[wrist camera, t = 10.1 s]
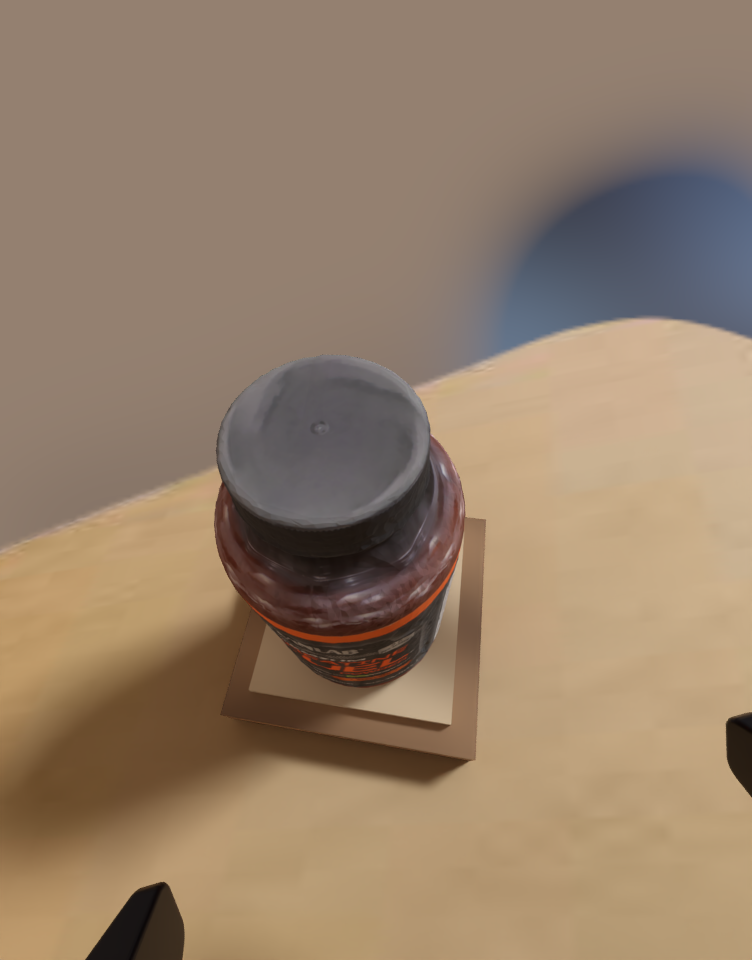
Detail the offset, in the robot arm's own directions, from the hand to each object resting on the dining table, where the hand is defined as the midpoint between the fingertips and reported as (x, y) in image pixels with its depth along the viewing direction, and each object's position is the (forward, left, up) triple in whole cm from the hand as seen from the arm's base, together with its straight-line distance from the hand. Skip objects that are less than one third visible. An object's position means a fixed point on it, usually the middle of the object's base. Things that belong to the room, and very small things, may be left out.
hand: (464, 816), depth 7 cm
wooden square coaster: (+6, +3, -11) cm, 13 cm away
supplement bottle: (+6, +3, -9) cm, 11 cm away
